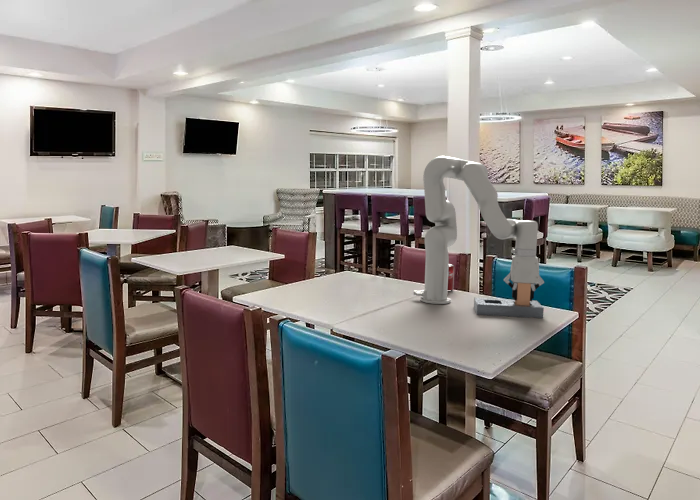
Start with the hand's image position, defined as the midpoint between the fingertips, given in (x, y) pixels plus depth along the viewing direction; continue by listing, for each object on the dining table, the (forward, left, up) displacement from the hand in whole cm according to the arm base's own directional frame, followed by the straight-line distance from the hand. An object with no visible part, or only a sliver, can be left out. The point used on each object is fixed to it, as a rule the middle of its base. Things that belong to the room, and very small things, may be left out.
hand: (522, 299), depth 194 cm
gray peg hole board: (-5, 0, -5) cm, 8 cm away
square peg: (0, 0, -5) cm, 5 cm away
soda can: (-27, +39, -6) cm, 48 cm away
